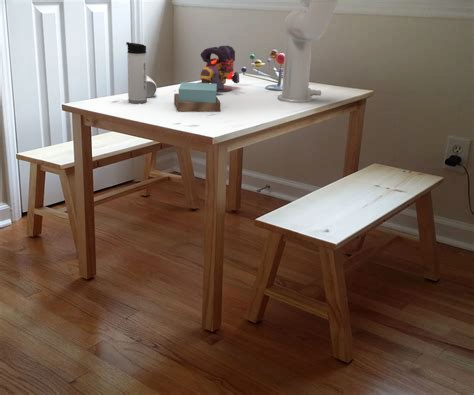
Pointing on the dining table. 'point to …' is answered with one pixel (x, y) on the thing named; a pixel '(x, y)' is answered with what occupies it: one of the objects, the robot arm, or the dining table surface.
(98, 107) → the dining table surface
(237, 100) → the dining table surface
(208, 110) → the tower base block
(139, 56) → the travel mug
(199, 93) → the tower top block
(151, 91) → the can
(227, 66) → the figurine
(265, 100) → the dining table surface
